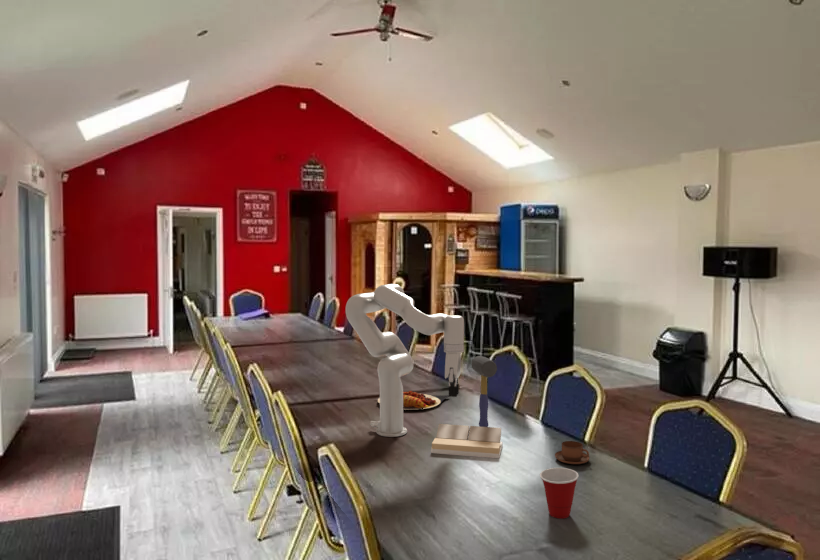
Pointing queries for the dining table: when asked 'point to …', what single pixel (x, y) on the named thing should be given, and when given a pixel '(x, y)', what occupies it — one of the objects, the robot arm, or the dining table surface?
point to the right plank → (484, 434)
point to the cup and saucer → (572, 453)
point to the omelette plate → (420, 400)
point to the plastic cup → (559, 490)
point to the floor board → (466, 448)
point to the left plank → (453, 432)
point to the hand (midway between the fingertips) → (453, 394)
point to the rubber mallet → (484, 384)
